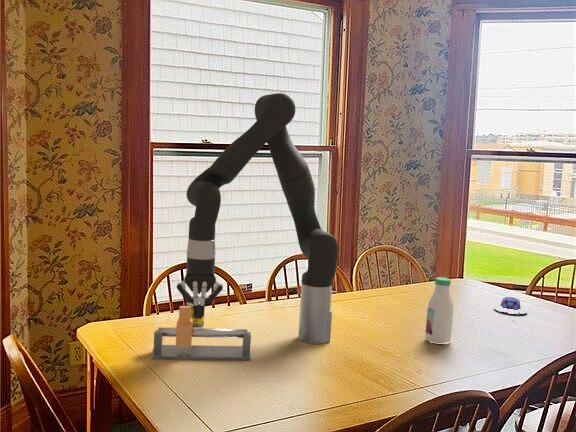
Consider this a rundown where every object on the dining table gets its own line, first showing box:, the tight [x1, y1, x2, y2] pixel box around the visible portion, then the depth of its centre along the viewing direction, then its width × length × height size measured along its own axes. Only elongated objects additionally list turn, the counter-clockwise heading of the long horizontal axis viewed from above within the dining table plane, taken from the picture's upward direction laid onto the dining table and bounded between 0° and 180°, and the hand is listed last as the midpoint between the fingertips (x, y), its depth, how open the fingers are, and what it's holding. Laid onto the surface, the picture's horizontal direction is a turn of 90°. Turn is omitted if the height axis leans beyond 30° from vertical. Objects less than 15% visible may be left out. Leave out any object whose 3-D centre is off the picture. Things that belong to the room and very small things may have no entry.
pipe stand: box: [151, 327, 252, 361], centre depth 169 cm, size 26×9×7 cm, turn 96°
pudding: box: [499, 296, 522, 310], centre depth 231 cm, size 12×12×5 cm
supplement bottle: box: [186, 293, 206, 328], centre depth 192 cm, size 6×6×10 cm
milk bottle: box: [424, 277, 454, 343], centre depth 190 cm, size 8×8×20 cm
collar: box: [175, 305, 193, 347], centre depth 167 cm, size 4×6×10 cm, turn 6°
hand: (198, 318), depth 168 cm, fingers closed
